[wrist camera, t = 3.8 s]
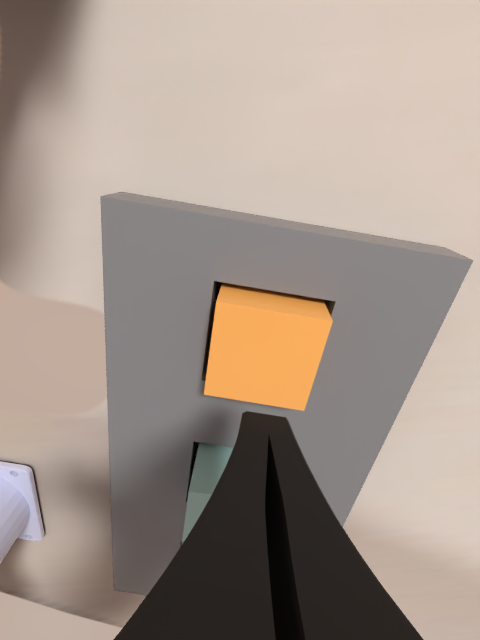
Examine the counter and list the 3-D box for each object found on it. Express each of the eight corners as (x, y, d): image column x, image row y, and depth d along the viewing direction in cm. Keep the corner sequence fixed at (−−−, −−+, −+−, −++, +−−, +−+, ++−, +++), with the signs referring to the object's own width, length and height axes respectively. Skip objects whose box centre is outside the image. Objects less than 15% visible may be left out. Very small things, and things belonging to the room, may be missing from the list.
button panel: (124, 560, 26) (113, 590, 24) (121, 191, 14) (100, 196, 12) (295, 586, 26) (297, 618, 24) (445, 247, 14) (473, 260, 12)
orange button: (213, 354, 17) (203, 394, 14) (224, 274, 15) (216, 301, 12) (296, 368, 17) (304, 410, 14) (318, 290, 15) (332, 321, 12)
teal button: (193, 490, 20) (181, 546, 17) (200, 437, 18) (188, 491, 15) (264, 501, 20) (265, 559, 17) (279, 450, 18) (283, 506, 15)
